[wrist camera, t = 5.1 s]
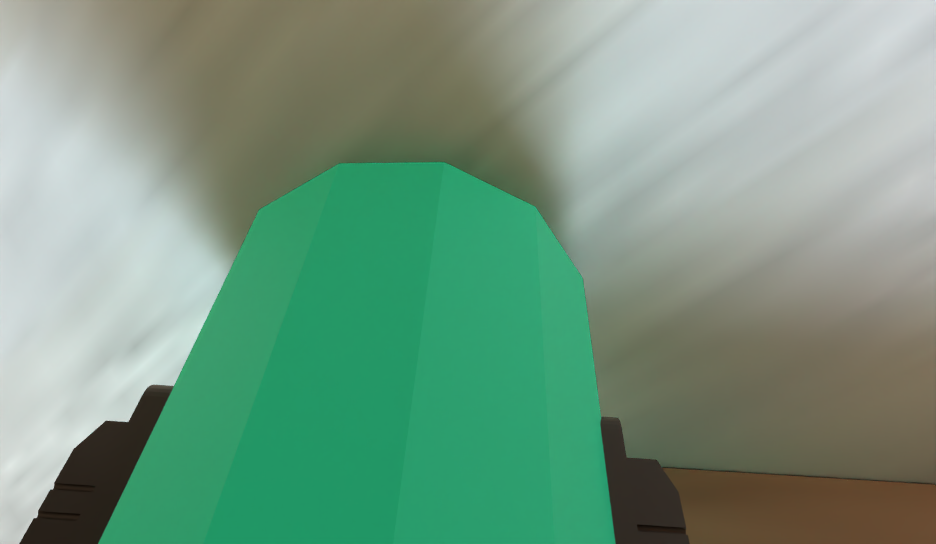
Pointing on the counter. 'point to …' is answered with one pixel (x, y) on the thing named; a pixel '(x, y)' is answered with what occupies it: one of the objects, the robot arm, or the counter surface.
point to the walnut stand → (802, 509)
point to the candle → (383, 379)
